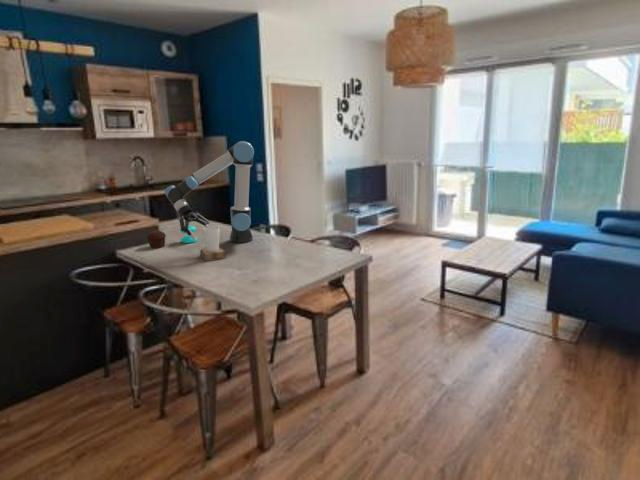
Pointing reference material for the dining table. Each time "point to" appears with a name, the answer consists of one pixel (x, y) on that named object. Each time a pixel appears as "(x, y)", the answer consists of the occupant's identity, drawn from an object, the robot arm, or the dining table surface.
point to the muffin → (156, 239)
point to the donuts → (187, 238)
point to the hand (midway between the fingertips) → (203, 236)
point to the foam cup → (212, 238)
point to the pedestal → (212, 254)
